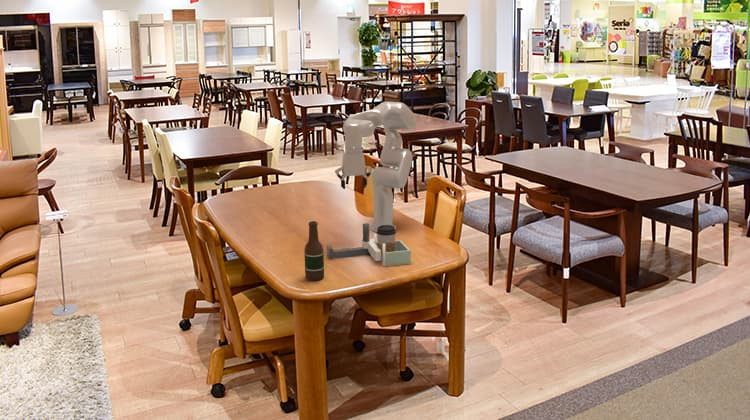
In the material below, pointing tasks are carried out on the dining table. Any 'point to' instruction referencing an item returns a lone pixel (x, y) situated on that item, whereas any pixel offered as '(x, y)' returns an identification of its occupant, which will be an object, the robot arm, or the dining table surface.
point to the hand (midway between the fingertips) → (354, 187)
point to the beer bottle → (314, 255)
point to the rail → (346, 252)
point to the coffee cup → (386, 238)
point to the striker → (370, 243)
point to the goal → (395, 254)
